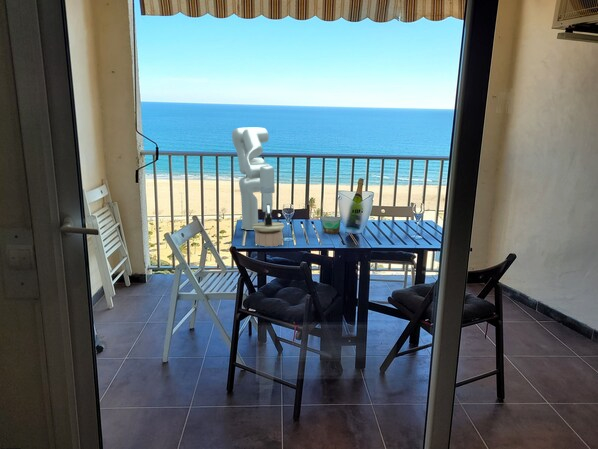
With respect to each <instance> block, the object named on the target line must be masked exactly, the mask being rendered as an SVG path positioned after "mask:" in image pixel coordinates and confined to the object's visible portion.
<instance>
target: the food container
mask: <svg viewBox="0 0 598 449" xmlns="http://www.w3.org/2000/svg"><path fill="white" fill-rule="evenodd" d="M320 220H321V222H322V230H323V231H322V232H323V233H324V234H327V235H337V234H339V233H340V229H341V228H340V227H341V220H343V218H342V215H339V216H333V215H330V216H329V215H328V216H323V215H321V217H320Z"/></svg>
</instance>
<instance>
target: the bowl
mask: <svg viewBox="0 0 598 449" xmlns="http://www.w3.org/2000/svg"><path fill="white" fill-rule="evenodd" d="M254 234H255V235H254V236H255V239H254V241H255V242H256V243H255V242H254V243H255V245H256V244H258V245H262V246H275V247H278V245H279V246H281V245H282V244H283V229H282V230H279V231H273V232H261V231H256V230H254Z"/></svg>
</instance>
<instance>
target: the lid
mask: <svg viewBox="0 0 598 449" xmlns="http://www.w3.org/2000/svg"><path fill="white" fill-rule="evenodd" d="M263 217H264V218H263V219H264V220H263V221H258V223H255V224H253V225H252V228H253V229H254V231H255V230H256V231H261V232H273V231H279V230H282V231H283V230H284V229H285V224H284V223H283V222H279V221H272V224H271V225H266V222H265V217H266V216H265V215H264V216H263ZM271 217H272V218H273V216H272V215H271Z"/></svg>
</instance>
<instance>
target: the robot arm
mask: <svg viewBox="0 0 598 449" xmlns="http://www.w3.org/2000/svg"><path fill="white" fill-rule="evenodd" d="M269 135H270V134H269V133H268V129H267V128H265V127H255V126H254V127H253V126H251V127H247V126H246V127H237V128H234V129H233V130H232V132H231V140H232V144H233V147H234V148H235V150H236V153H237V161H238V162H237V163H238V167H239V172H240V173H241V174H242V175H245V176H243V177H241V178H240V179H239V181H238V186H239V191H240V196H241V198H240V200H241V201H240V202H241V219H242V220H241V221H242V222H241V223H242V224H241V226H242V227H241V228H242V229H246V230H253V228H252V225H253V224H255V223H259V208H258V204H259V203H258V199H257V197H256V196H255V194H254V193H258V192H259V193H260V194H261V200H262V201H261V202H262V203H261V204H262V206H261V208H262V212H263V213H264V214H265V215H264V216H266V217H265V221H264V222H266V225H271V224H272V222H273V216H272V212H273V203H274V202H273V194H274V193H275V192H276V191H275V190H276V188H275V167H274V166H273V165H271V164H269V163H266V160H265V159H264V158H262V157H259V156H261V155H262V154H263V153H264V148H263V146H262V144H265V143H268V141H269V139H270V136H269ZM271 216H272V217H271Z"/></svg>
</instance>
